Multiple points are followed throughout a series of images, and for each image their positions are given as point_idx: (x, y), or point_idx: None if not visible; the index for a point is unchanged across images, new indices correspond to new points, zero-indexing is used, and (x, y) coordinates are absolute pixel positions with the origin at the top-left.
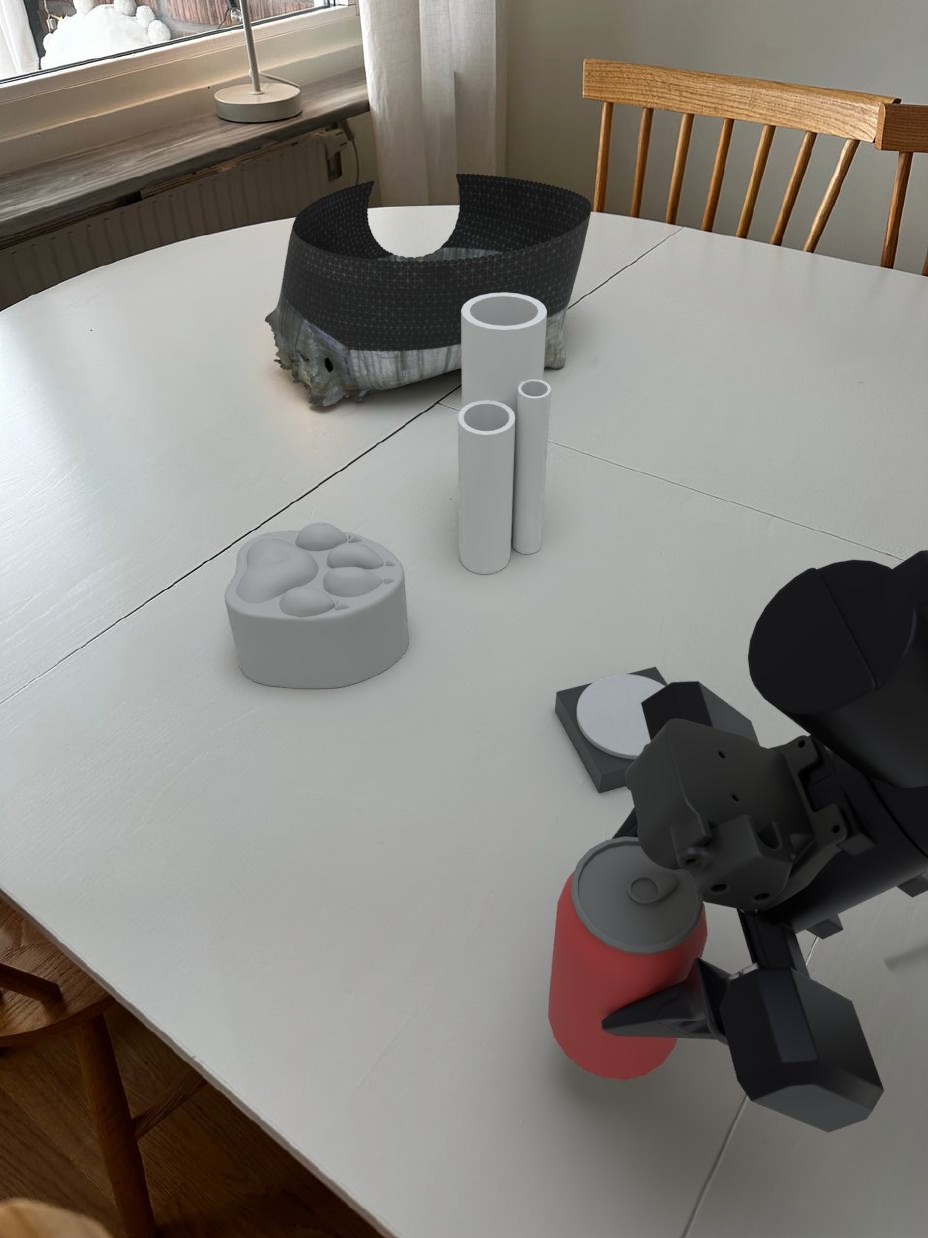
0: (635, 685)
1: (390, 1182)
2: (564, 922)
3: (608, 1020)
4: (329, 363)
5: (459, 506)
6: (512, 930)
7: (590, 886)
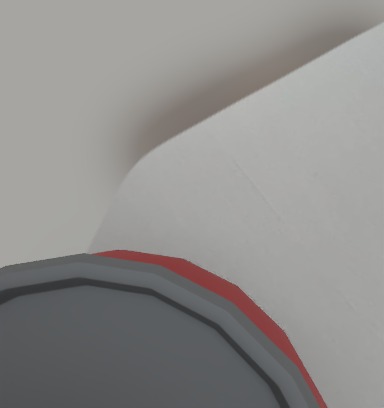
0: None
1: (161, 164)
2: (151, 255)
3: None
4: None
5: None
6: (336, 339)
7: (179, 366)
